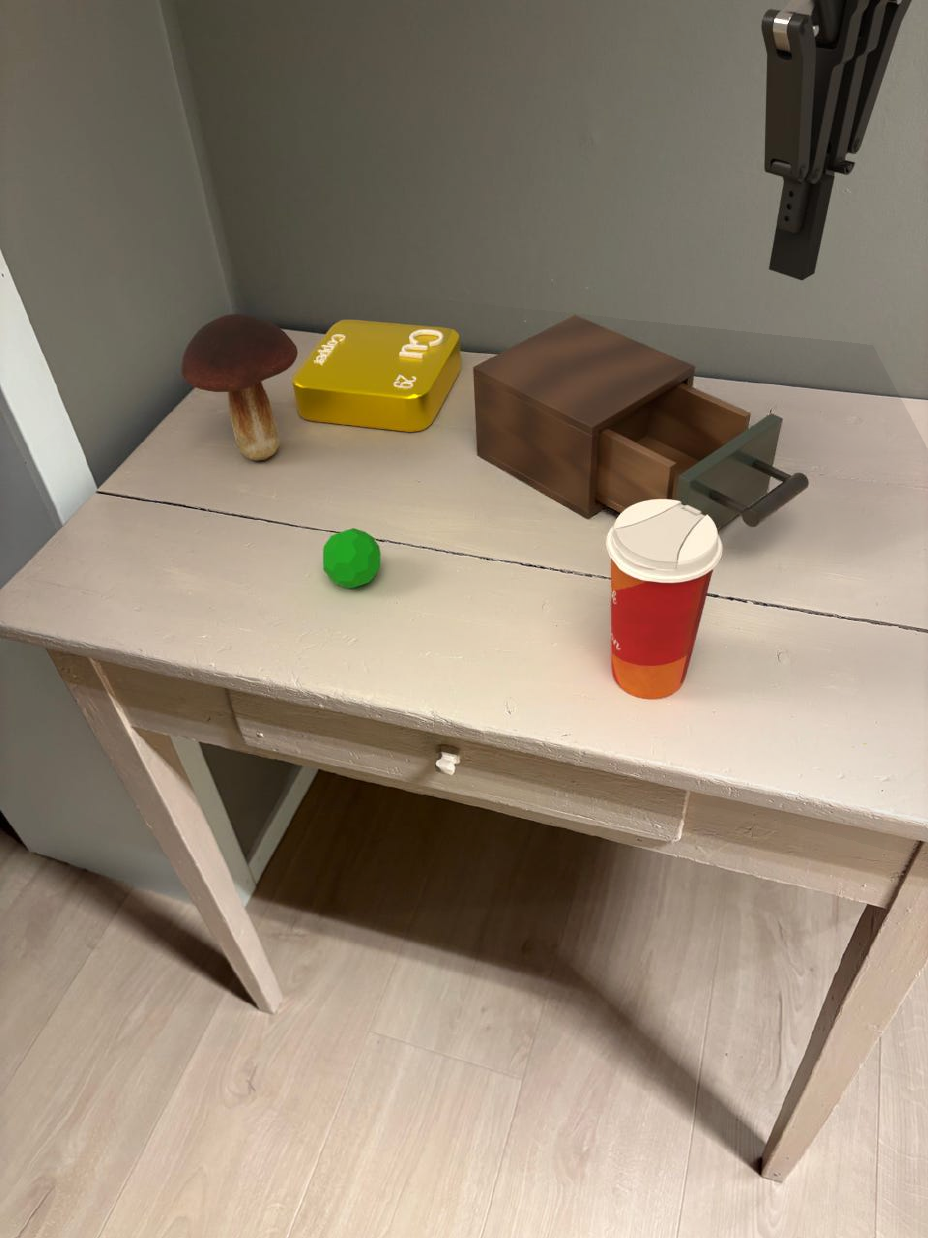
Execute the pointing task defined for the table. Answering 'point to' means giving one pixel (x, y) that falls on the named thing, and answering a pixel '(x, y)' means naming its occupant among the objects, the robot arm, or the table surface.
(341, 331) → the element tile
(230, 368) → the decorative mushroom
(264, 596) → the table surface
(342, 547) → the polyhedron
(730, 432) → the drawer
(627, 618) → the paper cup
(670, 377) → the cabinet
